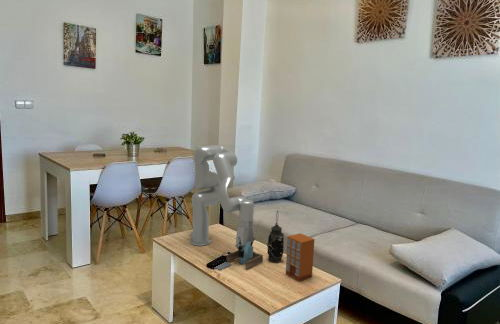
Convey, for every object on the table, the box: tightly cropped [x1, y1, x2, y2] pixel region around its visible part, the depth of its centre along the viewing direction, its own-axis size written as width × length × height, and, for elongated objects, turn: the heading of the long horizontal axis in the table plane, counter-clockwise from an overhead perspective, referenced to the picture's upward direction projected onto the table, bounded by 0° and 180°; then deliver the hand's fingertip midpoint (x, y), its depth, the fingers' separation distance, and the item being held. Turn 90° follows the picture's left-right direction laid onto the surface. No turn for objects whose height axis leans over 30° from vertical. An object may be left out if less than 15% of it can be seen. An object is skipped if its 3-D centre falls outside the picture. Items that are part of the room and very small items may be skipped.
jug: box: [238, 241, 254, 265], centre depth 205 cm, size 8×6×12 cm
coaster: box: [213, 261, 233, 271], centre depth 201 cm, size 9×9×1 cm
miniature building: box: [285, 232, 315, 282], centre depth 191 cm, size 10×9×20 cm
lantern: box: [266, 210, 285, 263], centre depth 209 cm, size 10×9×28 cm
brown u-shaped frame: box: [225, 249, 264, 271], centre depth 206 cm, size 14×14×4 cm
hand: (244, 255), depth 206 cm, fingers closed on jug, 5 cm apart
